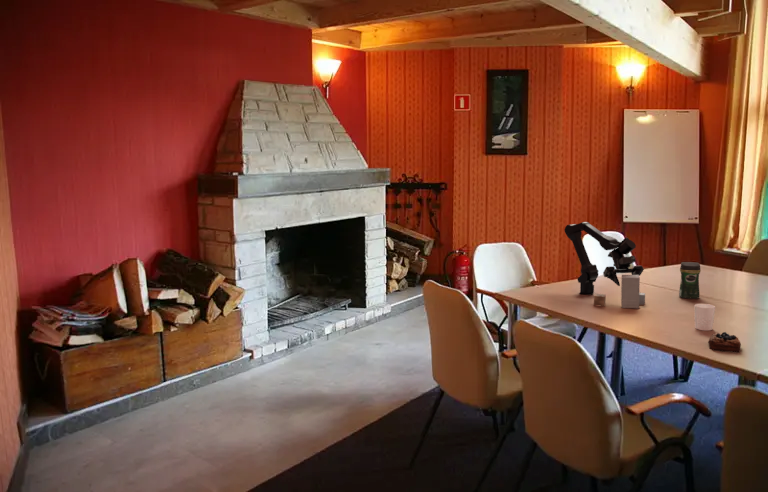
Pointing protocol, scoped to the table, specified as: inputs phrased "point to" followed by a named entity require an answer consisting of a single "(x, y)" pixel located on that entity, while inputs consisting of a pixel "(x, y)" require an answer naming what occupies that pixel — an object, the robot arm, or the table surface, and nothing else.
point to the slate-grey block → (642, 298)
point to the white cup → (704, 316)
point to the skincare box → (630, 291)
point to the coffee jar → (689, 280)
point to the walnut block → (599, 299)
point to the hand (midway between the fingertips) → (628, 285)
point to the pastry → (724, 342)
